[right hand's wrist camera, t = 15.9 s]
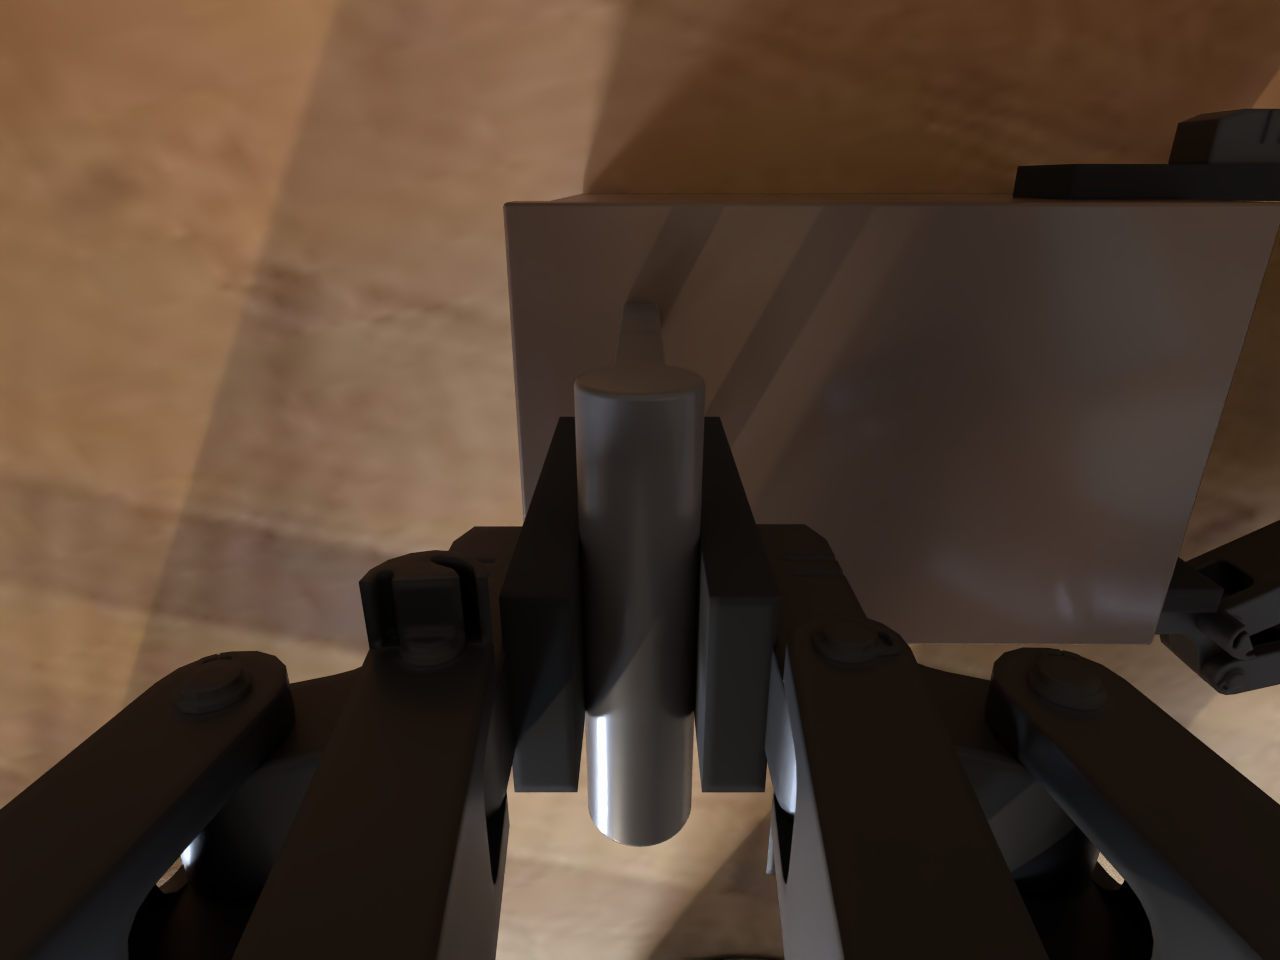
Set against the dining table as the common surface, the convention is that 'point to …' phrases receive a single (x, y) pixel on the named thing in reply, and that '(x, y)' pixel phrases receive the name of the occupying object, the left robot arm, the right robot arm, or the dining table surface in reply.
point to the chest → (827, 197)
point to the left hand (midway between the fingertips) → (1000, 400)
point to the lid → (871, 420)
